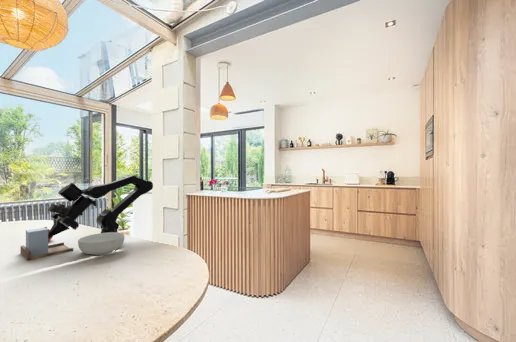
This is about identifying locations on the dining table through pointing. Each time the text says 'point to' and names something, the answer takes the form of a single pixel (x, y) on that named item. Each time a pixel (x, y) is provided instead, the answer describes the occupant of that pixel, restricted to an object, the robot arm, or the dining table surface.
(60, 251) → the box
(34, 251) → the blue block
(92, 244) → the cereal bowl
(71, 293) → the dining table surface
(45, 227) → the onion
